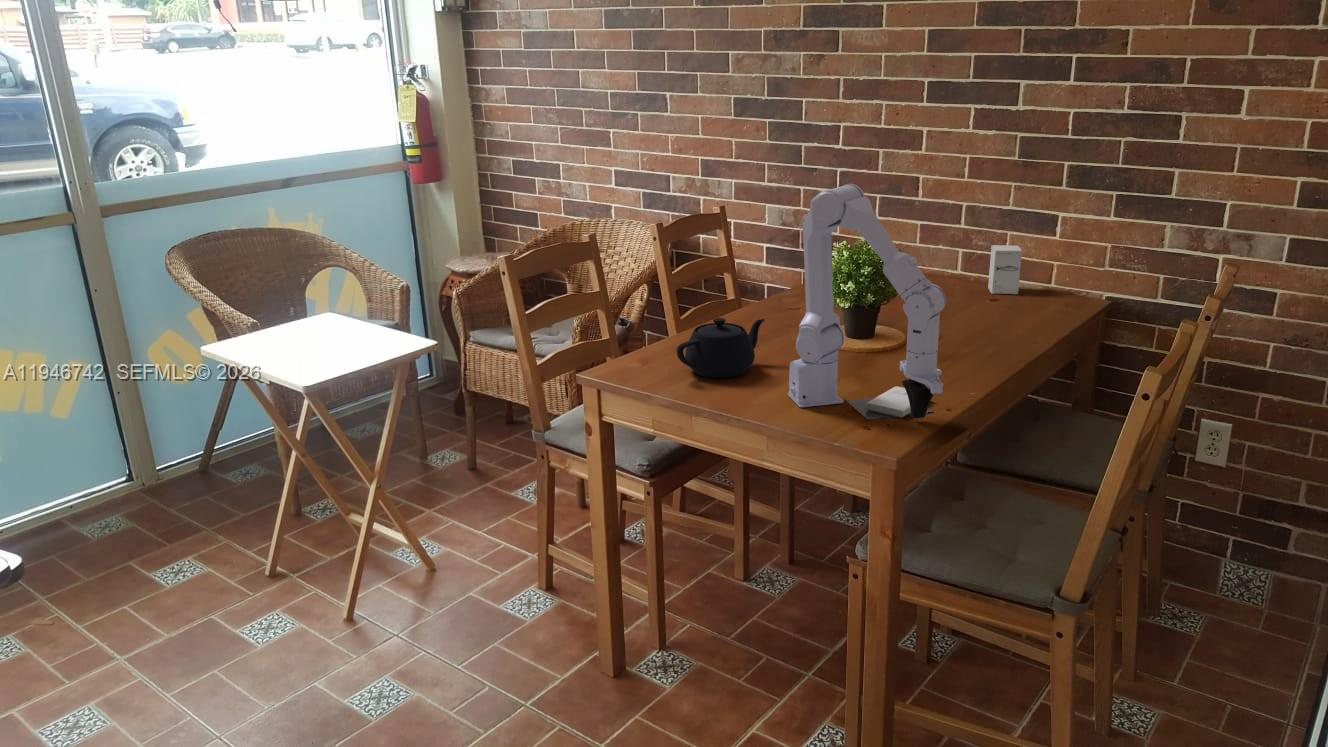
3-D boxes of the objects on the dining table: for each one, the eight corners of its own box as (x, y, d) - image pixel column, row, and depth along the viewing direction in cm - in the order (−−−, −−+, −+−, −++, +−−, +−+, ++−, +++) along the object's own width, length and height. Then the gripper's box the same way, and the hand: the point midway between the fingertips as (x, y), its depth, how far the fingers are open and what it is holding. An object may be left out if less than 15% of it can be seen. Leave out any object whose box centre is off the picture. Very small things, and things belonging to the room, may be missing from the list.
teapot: (700, 391, 218) (699, 336, 214) (657, 373, 230) (656, 321, 226) (787, 367, 232) (787, 314, 228) (742, 351, 244) (742, 301, 240)
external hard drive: (865, 409, 204) (894, 392, 214) (903, 418, 200) (931, 400, 209) (865, 402, 204) (894, 385, 213) (903, 410, 199) (931, 392, 208)
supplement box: (991, 294, 287) (994, 250, 283) (987, 287, 294) (991, 244, 290) (1018, 294, 285) (1022, 250, 281) (1014, 288, 292) (1018, 244, 288)
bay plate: (867, 419, 200) (867, 419, 200) (846, 400, 210) (846, 400, 210) (933, 412, 202) (933, 411, 202) (909, 394, 213) (909, 393, 213)
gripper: (959, 359, 188) (955, 428, 192) (924, 337, 201) (921, 402, 205) (924, 362, 186) (920, 432, 191) (891, 340, 200) (888, 405, 204)
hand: (918, 416), depth 198 cm, fingers closed
